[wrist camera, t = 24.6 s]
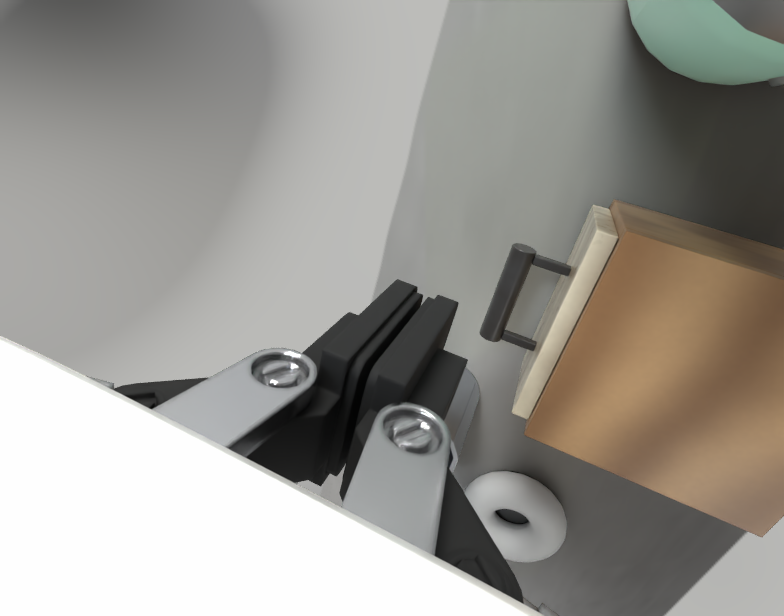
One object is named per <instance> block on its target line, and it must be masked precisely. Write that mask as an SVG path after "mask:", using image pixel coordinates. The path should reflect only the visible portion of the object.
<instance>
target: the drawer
mask: <svg viewBox="0 0 784 616" xmlns="http://www.w3.org/2000/svg"><path fill="white" fill-rule="evenodd" d="M618 239H619V237H618V233H617V230H616V227H615V224H614V221H613V218H612V215H611V211H610V209H607V208H604V207H600V206H597V205H592V207H591V210H590V212H589V214H588V216H587V218H586V221H585V223H584V225H583V227H582V230H581V232H580V234H579V236H578V238H577V241H576V243H575V245H574V247H573V249H572V252H571V254H570V256H569V258H568V261H567V263H566V264H564V263H561V262H558V261H555V260H552V259H549V258H546V257H543V256H540V255H537V254H536V251H535V250H534V249H533V248H531V247H529V246H527V245H523V244H517V243H516V244H513V245H512V248H511V250H510V253H509V256H508V258H507V261H506V264H505V266H504V269H503V272H502V274H501V277H500V279H499V282H498V285H497V287H496V290H495V293H494V295H493V298H492V301H491V303H490V306H489V308H488V311H487V314H486V316H485V319H484V322H483V324H482V327H481V330H480V335H481V336H482V337H483V338H485V339H486V340H489V341H492V342H498V341H500V340H501V339H502V340H505V341H507V342H510V343H513V344H515V345H518V346H520V347H523V348H525V349H527V352H526V354H525V356H524V358H523V362H522V367H521V372H520V376H519V381H518V385H517V390H516V394H515V399H514V404H513V408H512V413H513V414H515V415H518V416H520V417H522V418H525V419H527V420H528V419H529V417H530V415H531V413H532V411H533V409H534V407H535V405H536V403H537V401H538V399H539V397H540V395H541V393H542V391H543V389H544V387H545V385H546V383H547V381H548V379H549V377H550V375H551V373H552V371H553V369H554V367H555V365H556V363H557V361H558V359H559V357H560V355H561V353H562V351H563V349H564V347H565V345H566V343H567V341H568V339H569V337H570V335H571V333H572V331H573V329H574V327H575V325H576V323H577V321H578V319H579V317H580V315H581V313H582V311H583V309H584V307H585V305H586V303H587V301H588V299H589V297H590V295H591V293H592V291H594V290H593V289H595V288H594V287H596V286H595V285H597V284H596V283H598V282H597V281H599V280H598V279H600V278H599V277H601V276H600V275H602V274H601V273H603V272H602V271H604V270H603V269H605V268H604V267H606V266H605V265H607V264H606V263H608V262H607V261H609V260H608V259H610V258H609V257H611V256H610V255H612V254H611V253H613V252H612V251H614V250H613V249H615V248H614V247H616V246H615V245H617V244H616V243H618V242H617V241H619V240H618ZM531 264H533V265H535V266H538V267H541V268H544V269H547V270H550V271H553V272H556V273H559V274H561V276H560V278H559V281H558V283H557V285H556V287H555V289H554V292H553V294H552V296H551V298H550V300H549V303H548V305H547V307H546V309H545V312H544V314H543V316H542V318H541V320H540V323H539V325H538V327H537V329H536V332H535V334H534V336H533V338H532V340H531V339H529V338H526V337H523V336H521V335H518V334H516V333H513V332H510V331H508V330H505V328H506V325H507V323H508V320H509V318H510V316H511V313H512V311H513V308H514V306H515V303H516V301H517V299H518V296H519V294H520V291H521V289H522V286H523V284H524V281H525V279H526V277H527V274H528V272H529V269H530V267H531Z"/></svg>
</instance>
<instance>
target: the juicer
mask: <svg viewBox="0 0 784 616" xmlns="http://www.w3.org/2000/svg"><path fill="white" fill-rule="evenodd" d="M627 3H628V7H629V12H630V17H631V21H632V25H633V27H634V28H635V30H636V32H637V34H638V35H639V37H640V39H641V41H642V42H643V44H644V46H645V47H646V49H647V51H648V52H650V53H651V54H652V55H653V56H654V57H655V58H656V59H658V60H659V61H660V62H661V63H662V64H663V65H664V66H666V67H667V68H668V69H669V70H671V71H673V72H676V73H678V74H680V75H683V76H685V77H688V78H690V79H692V80H695V81H697V82H704V83H714V84H723V85H739V84H746V83H753V82H760V81H767V80H768V81H769V84H770V86H771V87H772V86H780V85H784V0H627Z"/></svg>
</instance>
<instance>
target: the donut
mask: <svg viewBox="0 0 784 616" xmlns="http://www.w3.org/2000/svg"><path fill="white" fill-rule="evenodd" d="M464 494H465V495H466V497H467V498H468V500H469V502H470V503H471V505H472V507H473V508H474V510H475V511H476V513H477V515H478V516H479V518H480V520H481V521H482V523H483V525H484V526H485V528H486V529H487V531H488V533H489V534H490V536H491V538H492V539H493V541H494V542H495V544H496V546H497V547H498V549H499V551H500V552H501V554H502V556H503V557H504V559H508V560H511V561H515V562H534V561H539V560H543V559H546V558H548V557H549V556H551V555H553V554H554V553H556V552H557V551H558V550H559V548H560V547H561V545H562V543H563V542H564V540H565V537H566V530H567V520H566V516H565V513H564V510H563V507H562V505H561V504H560V502H559V501H558V500H557V498H556V497H555V496H554V494H553V493H552V492H551V491H550V490H549V489H548V488H546V487H545V486H544V485H542V484H541V483H540V482H538V481H537V480H535V479H532V478H530V477H528V476H526V475H523V474H519V473H514V472H509V471H496V472H490V473H487V474H484V475H481V476H479V477H477V478H476V479H475V480H474V481H473V482H471V483H470V484H469V485H468V486H467V488H466V490H465V492H464ZM499 509H510V510H515V511H517V512H519V513H521V514H523V515H524V516H525V517H527V519H528V520H529V522H528V523H525V524H513V523H509V522H507V521H505V520H503V519H501V518H500V517H499V516H498V515H497V514H496V512H495V511H496V510H499Z"/></svg>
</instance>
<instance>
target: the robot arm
mask: <svg viewBox="0 0 784 616" xmlns="http://www.w3.org/2000/svg"><path fill="white" fill-rule="evenodd" d="M422 299H423V295H422V294H419V293H417V287H416V286H414V285H411V284H408V283H406V282H403V281H400V280H398V279H397V280H396V281H395V282H394V283H393V284H391V285H390V286H389V287H388V288H387V289H386V290H385V291H384V292H383V293H382V294H381V295H380V296H379V297H378V298H377V299H375V300H374V301H373V302H372V303H371V304H370V305H369V306H368V307H367V308H366V309H365V310H364V311H363V312H362V313H361V314H360V315H356V314H353V313H350V312H349V313H347V314H346V315H345V316H343V317H342V318H341V319H340V320H339V321H338V322H337V323H336V324H335V325H333V326H332V327H331V328H330V329H329V330H328V331H327V332H325V334H323V335H322V336H321V337H320V338H319V339H317V340H316V341H315V342H314V343H313V344H312V345H311V346H310V347H308V348H307V349H306V350H305V351H304V352H303V353H300V352H298V351H295V350H291V349H286V348H270V349H264V350H261V351H258V352H256V353H253V354H252V355H250V356H248V357H246V358H244V359H242V360H241V361H239V362H237V363H235V364H234V365H232V366H230V367H228V368H226V369H224V370H222V371H221V372H219V373H217V374H215V375H213V376H212V377H210V378H198V379H185V380H173V381H161V382H148V383H136V384H131V385H124V386H120V387H117V388H115V389H114V383H110V382H107V381H103V380H99V379H95V378H91V377H88V376H84V375H82V374H80V373H78V372H76V371H74V370H72V369H70V368H68V367H66V366H64V365H62V364H60V363H58V362H56V361H54V360H52V359H50V358H48V357H46V356H44V355H42V354H39V353H37V352H35V351H33V350H31V349H29V348H26V347H24V346H22V345H20V344H18V343H15V342H13V341H11V340H9V339H6V338H4V337H2V336H0V616H559V615H558V614H556V613H555V612H554V611H552V610H551V609H550V608H549V607H547V606H546V605H545V604H543V603H541V605H540V606H539V608H537V607H536V606H534V605H533V604H532V603H530V602H529V601H528V600H526V599H525V598H524V597H523V596H522V591H521V588H520V586H519V584H518V582H517V580H516V577H515V575H514V573H513V572H512V570H511V569H510V567H509V565H508V564H507V562H506V560H505V559H504V557H503V556H502V554H501V552H500V551H499V549H498V547H497V546H496V544H495V542H494V541H493V539H492V538H491V536H490V534H489V533H488V531H487V529H486V528H485V526H484V525H483V523H482V521H481V520H480V518H479V516H478V515H477V513H476V511H475V510H474V508H473V507H472V505H471V503H470V502H469V500H468V498H467V497H466V495H465V494H464V492H463V490H462V489H461V487H460V485H459V484H458V482H457V480H456V479H455V477H454V476H453V474H452V472H451V471H450V469H449V467H448V460H449V453H450V446H451V433H450V431H449V429H448V427H447V425H446V423H445V422H444V420H445V418H446V415H447V413H448V411H449V408H450V406H451V403H452V401H453V398H454V396H455V393H456V390H457V388H458V385H459V383H460V380H461V377H462V375H463V372H464V369H465V367H466V364H467V361H468V360H467V359H465V358H462V357H460V356H457V355H455V354H452V353H450V352H447V351H445V350H443V349H444V346H445V343H446V340H447V337H448V334H449V331H450V328H451V325H452V322H453V319H454V316H455V313H456V310H457V307H458V302H456V301H454V300H451V299H448V298H446V297H443V296H440V295H437V297H436V298H435V299H432V298H430V297H428V298H427V299H426V300H425V302H424V303H423V304H422V305H421V302H422ZM420 306H421V307H420ZM345 464H346V466H345V470H344V474H343V481H342V485H341V489H340V496H341V499H342V501H343V503H342V506H341V507H340V506H338V505H336V504H334V503H332V502H330V501H328V500H326V499H324V498H322V497H321V496H319V495H317V494H315V493H313V492H311V491H309V490H307V489H305V488H303V487H301V486H299V485H297V484H298V482H300V481H305V480H309V481H311V482H313V483H315V484H317V485H319V486H321V485H322V484H323V483H324V481H325V480H326V478H327V477H328V475H329V474H332V475H334V476H337V475H338V474H339V473H340V471H341V470H342V468H343V467H344V465H345Z"/></svg>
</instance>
